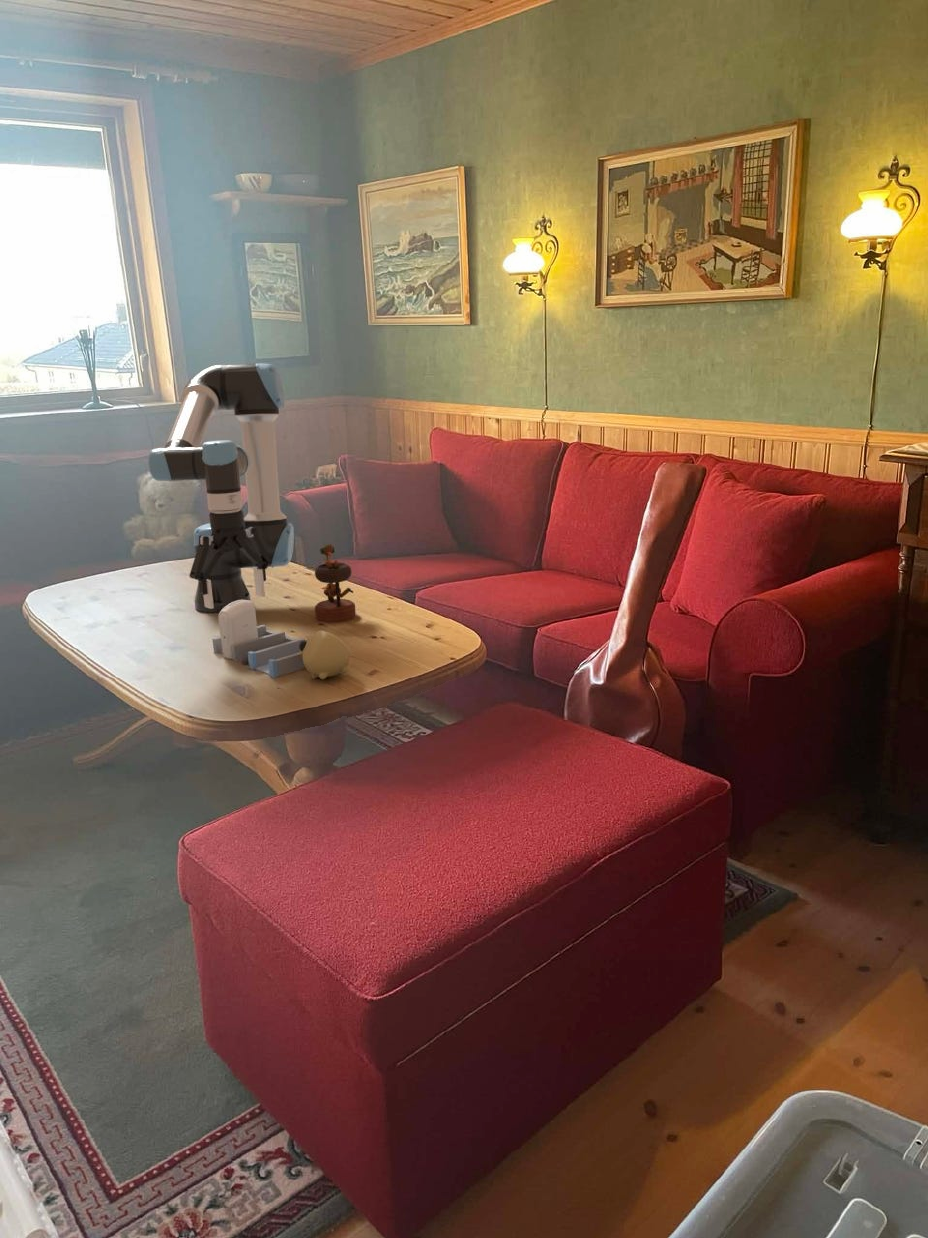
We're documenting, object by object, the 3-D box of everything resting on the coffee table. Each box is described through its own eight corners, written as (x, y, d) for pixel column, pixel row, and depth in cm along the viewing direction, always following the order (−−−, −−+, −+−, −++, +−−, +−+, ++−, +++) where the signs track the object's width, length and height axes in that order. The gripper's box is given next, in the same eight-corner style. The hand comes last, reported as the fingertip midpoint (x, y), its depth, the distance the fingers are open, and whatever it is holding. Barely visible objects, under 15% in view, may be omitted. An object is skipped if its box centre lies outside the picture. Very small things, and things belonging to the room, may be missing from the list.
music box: (303, 615, 247) (303, 541, 242) (340, 611, 254) (340, 538, 249) (332, 628, 235) (332, 550, 231) (369, 623, 242) (370, 546, 237)
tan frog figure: (334, 664, 209) (331, 619, 206) (359, 679, 200) (355, 632, 196) (294, 673, 204) (289, 627, 201) (316, 689, 195) (312, 641, 191)
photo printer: (235, 659, 215) (229, 608, 211) (220, 658, 216) (214, 606, 213) (261, 646, 224) (256, 596, 220) (247, 644, 225) (242, 595, 222)
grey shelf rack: (211, 653, 220) (209, 637, 219) (268, 637, 230) (267, 622, 229) (273, 678, 202) (272, 661, 201) (332, 659, 212) (331, 643, 211)
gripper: (183, 520, 199) (195, 615, 205) (281, 504, 216) (289, 593, 222) (166, 516, 204) (178, 610, 210) (263, 501, 221) (271, 588, 227)
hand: (235, 601), depth 216 cm, fingers open, 13 cm apart
